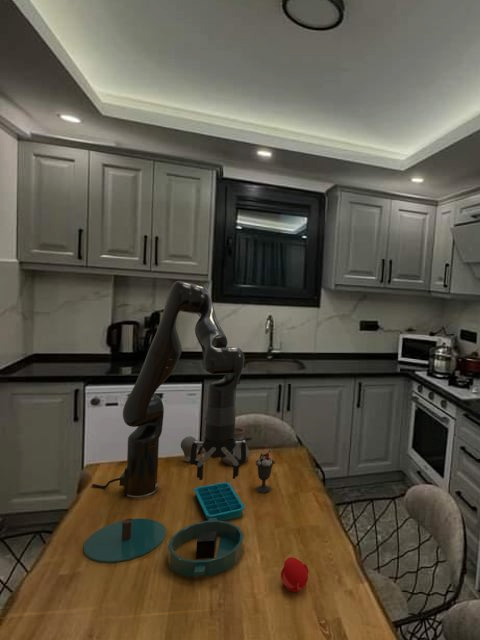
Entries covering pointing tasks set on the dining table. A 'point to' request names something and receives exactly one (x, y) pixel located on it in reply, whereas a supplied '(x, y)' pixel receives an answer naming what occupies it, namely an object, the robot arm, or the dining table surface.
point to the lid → (124, 540)
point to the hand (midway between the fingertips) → (217, 478)
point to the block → (206, 545)
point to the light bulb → (187, 447)
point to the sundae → (264, 471)
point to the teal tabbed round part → (226, 551)
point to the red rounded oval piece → (294, 574)
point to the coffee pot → (237, 437)
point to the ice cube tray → (219, 501)
